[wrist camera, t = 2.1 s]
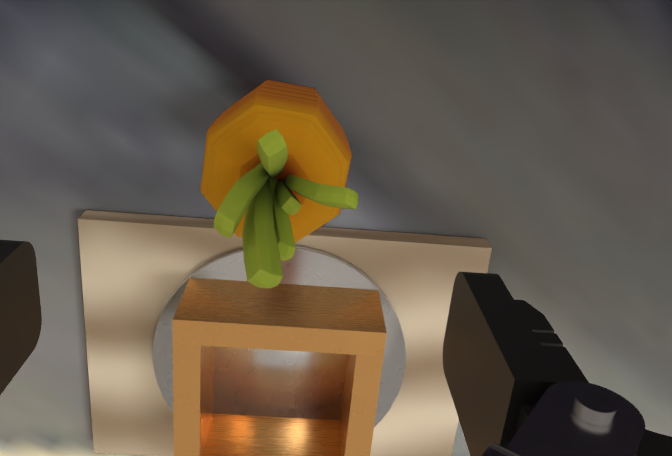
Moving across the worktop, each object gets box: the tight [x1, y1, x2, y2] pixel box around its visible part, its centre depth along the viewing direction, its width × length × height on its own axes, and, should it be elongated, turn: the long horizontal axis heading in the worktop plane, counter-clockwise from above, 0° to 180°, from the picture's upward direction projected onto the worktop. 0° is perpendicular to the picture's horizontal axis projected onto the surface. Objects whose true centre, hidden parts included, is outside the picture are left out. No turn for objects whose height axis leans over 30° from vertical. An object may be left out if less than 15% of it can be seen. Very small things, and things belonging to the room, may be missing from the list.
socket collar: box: [152, 244, 406, 456], centre depth 31 cm, size 13×13×5 cm
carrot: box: [200, 80, 358, 289], centre depth 23 cm, size 5×5×15 cm
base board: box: [78, 210, 492, 456], centre depth 34 cm, size 14×20×1 cm
